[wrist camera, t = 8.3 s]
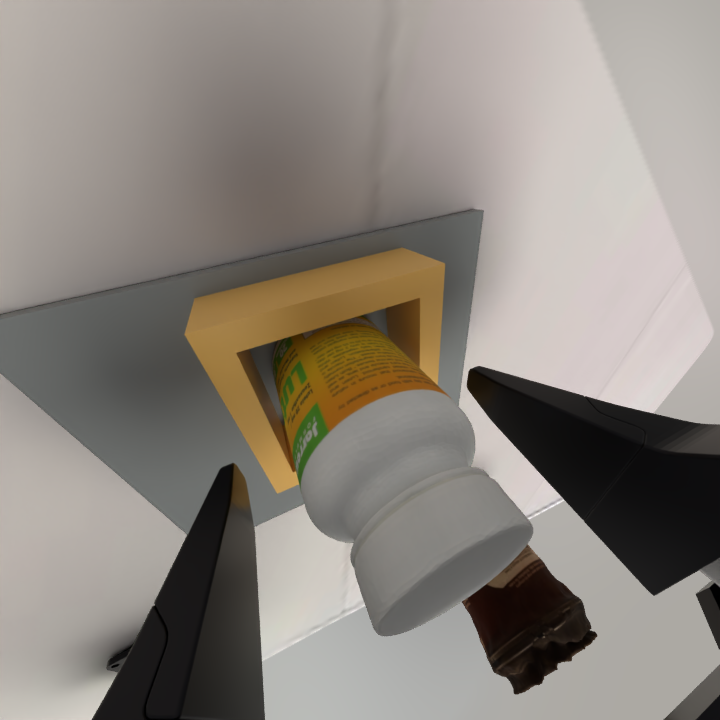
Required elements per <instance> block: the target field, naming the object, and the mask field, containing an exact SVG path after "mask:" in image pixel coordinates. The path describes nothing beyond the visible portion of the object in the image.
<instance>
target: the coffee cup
mask: <svg viewBox="0 0 720 720" xmlns="http://www.w3.org/2000/svg"><path fill="white" fill-rule="evenodd" d="M462 603H463V604H464V606H465V608H466V609H467V611H468V612H469V614H470V615H471V617H472V620H473V623H474V625H475V627H476V629H477V632H478V634H479V638H480V641H481V643H482V645H483V648H484V650H485V652H486V655H487V659H488V661H489V662H490V665H491V667H492V669H493V671H494V673H496V674H499V675H501V676H504V677H507V679H508V680H509V681H510V682H511V684H512V686H513V689H514V694H519V693H523V692H525V691H527V690H529V689H530V688H531V687H533V686H535V685H540V684H542V681H543V680H544V676H547V675H548V674H550V673H552V672H553V671H555V670H557V664H558V663H561V662H566V661H572V656H574V655H575V654H576V653H578V652H580V651H581V650H583V649H585V647H586V646H588V645H590V644H591V643H592V641H593V640H595V638H596V637H597V634H596V633H595V632H593V631H590V629H591V625H590V622H589V620H588V619H587V617H586V615H585V609H584V605H583V603H582V601H581V599H579V597H577V596H575V595H574V594H573V593H572V592H571V591H570V590H569V589H568V588H567V587H566V586H565V585H564V584H563V583H561V582H560V581H558V580H557V579H556V578H555V577H554V576H553V575H552V574H551V573H550V571H549V570H548V569H547V567H546V566H545V564H544V562H543V561H542V560H541V559H540V558H539V557H538V556H537V555H536V554H535V552H534V551H533V550H532V549H531V548H530V546H529V545H528V544H527V545H526V547H525V548H524V549H523V550H522V551H521V553H520V554H519V555H518V556H517V557H516V558H515V559H514V560H513V561H512V562H511V563H510V564H509V565H508V566H507V567H506V568H505V569H504V570H503V571H501V572H500V573H499V574H498V575H497V576H496V577H494V578H493V579H492V580H491V581H490V582H488V583H487V584H486V585H484V586H483V587H482V588H480V589H479V590H478V591H476V592H475V593H474V594H472V595H471V596H469V597H468V598H466V599H465V600H464V601H462Z"/></svg>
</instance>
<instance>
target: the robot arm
mask: <svg viewBox="0 0 720 720" xmlns="http://www.w3.org/2000/svg"><path fill="white" fill-rule="evenodd" d="M467 388H468V390H469V392H470V393H471V394H472V396H473V397H474V398H475V400H476V401H477V402H478V404H479V405H480V406H481V408H482V409H483V410H484V412H485V413H486V414H487V416H488V417H489V418H490V419H491V420H492V422H493V423H494V424H495V425H496V426H497V427H498V428H499V429H500V430H501V432H502V433H503V434H504V435H505V436H506V437H507V438H508V439H509V440H510V441H511V442H512V443H513V445H514V446H515V447H516V448H517V449H518V450H519V451H520V452H521V453H522V454H523V455H524V457H525V458H526V459H527V460H528V461H529V462H530V463H531V464H532V465H533V466H534V467H535V468H536V470H537V471H538V472H539V473H540V474H541V475H542V476H543V477H544V478H545V479H546V480H547V481H548V483H549V484H550V485H551V486H552V487H553V488H554V489H555V490H556V491H557V492H558V493H559V495H560V496H561V497H562V498H563V499H564V500H565V501H566V502H567V503H568V504H569V505H570V506H571V507H572V508H573V510H574V511H575V512H576V513H577V514H578V515H579V516H580V517H581V518H582V519H583V520H584V522H585V523H586V524H587V525H588V526H589V527H590V528H591V529H592V531H593V532H594V533H595V534H596V535H597V536H598V537H599V538H600V539H601V540H602V541H603V542H604V543H605V545H606V546H607V547H608V548H609V549H610V550H611V551H612V552H613V553H614V554H615V555H616V557H617V558H618V559H619V560H620V561H621V562H622V563H623V564H624V565H625V566H626V567H627V568H628V570H629V571H630V572H631V573H632V574H633V575H634V576H635V577H636V578H637V579H638V580H639V582H640V583H641V584H642V585H643V586H644V587H645V588H646V589H647V590H648V591H649V592H650V593H651V594H652V595H654V596H655V595H657V594H658V593H660V592H662V591H664V590H665V589H667V588H669V587H671V586H672V585H674V584H676V583H678V582H679V581H681V580H683V579H684V578H686V577H688V576H690V575H691V574H693V573H695V572H697V571H698V570H700V571H701V572H702V573H703V574H704V575H706V576H707V577H708V578H709V579H711V580H712V581H711V582H709V583H708V584H707V585H706V586H705V587H704V588H702V589H701V590H700V591H699V592H698V593H696V596H697V598H698V601H699V603H700V605H701V608H702V610H703V612H704V614H705V617H706V619H707V622H708V624H709V627H710V629H711V631H712V634H713V636H714V638H715V641H716V643H717V645H718V648H719V649H720V425H716V424H715V425H714V424H700V423H693V422H688V421H683V420H679V419H674V418H670V417H666V416H661V415H657V414H653V413H649V412H644V411H640V410H636V409H632V408H627V407H623V406H619V405H615V404H612V403H608V402H604V401H601V400H597V399H593V398H590V397H587V396H585V397H584V396H583V395H579V394H576V393H572V392H569V391H565V390H562V389H558V388H555V387H551V386H548V385H544V384H541V383H537V382H534V381H530V380H527V379H524V378H520V377H517V376H513V375H510V374H506V373H503V372H499V371H496V370H492V369H489V368H485V367H482V366H477V367H474V368H472V369H470V370H469V373H468V380H467ZM154 604H155V606H153V607H152V608H151V610H150V612H149V614H148V616H147V618H146V620H145V622H144V624H143V626H142V628H141V630H140V632H139V634H138V636H137V638H136V640H135V642H134V644H133V646H132V648H130V649H128V650H126V651H124V652H122V653H120V654H118V655H116V656H115V657H113V658H111V659H110V660H109V661H108V664H107V670H111V671H115V672H118V674H117V676H116V677H115V679H114V681H113V683H112V685H111V686H110V688H109V690H108V692H107V694H106V696H105V697H104V699H103V701H102V703H101V704H100V706H99V708H98V710H97V711H96V713H95V715H94V717H93V718H92V720H265V713H264V693H263V676H262V656H261V637H260V619H259V600H258V582H257V563H256V544H255V530H254V523H253V517H252V512H251V506H250V500H249V494H248V489H247V483H246V480H245V477H244V475H243V474H242V472H241V471H240V469H239V468H238V466H237V465H236V464H235V463H231V464H228V465H226V466H223V467H221V468H220V470H219V471H218V473H217V476H216V478H215V480H214V482H213V484H212V486H211V488H210V490H209V492H208V494H207V496H206V498H205V500H204V502H203V504H202V506H201V508H200V510H199V512H198V514H197V516H196V518H195V520H194V522H193V524H192V527H191V529H190V531H189V533H188V535H187V537H186V539H185V541H184V543H183V545H182V547H181V549H180V551H179V553H178V555H177V557H176V559H175V561H174V563H173V565H172V567H171V569H170V571H169V573H168V575H167V577H166V580H165V582H164V584H163V586H162V588H161V590H160V592H159V594H158V596H157V598H156V600H155V602H154ZM664 720H720V665H719V666H718V667H717V668H716V669H715V670H714V671H713V672H712V673H711V674H710V675H709V676H708V677H707V678H706V679H705V680H704V681H703V682H702V683H700V685H699V686H697V687H696V688H695V689H694V690H693V691H692V693H690V694H689V695H688V696H687V697H686V698H685V699H684V700H683V701H682V702H681V703H680V704H679V705H678V706H677V707H676V708H675V709H674V710H673V711H672V712H671V713H670V714H669V715H668V716H667V717H666V718H665V719H664Z"/></svg>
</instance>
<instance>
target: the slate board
mask: <svg viewBox="0 0 720 720" xmlns="http://www.w3.org/2000/svg"><path fill="white" fill-rule="evenodd" d="M483 212H484V210H475V209H474V210H469V211H465V212H460V213H456V214H451V215H447V216H442V217H438V218H433V219H429V220H424V221H420V222H415V223H411V224H406V225H402V226H397V227H393V228H388V229H384V230H379V231H375V232H370V233H366V234H361V235H357V236H352V237H348V238H343V239H339V240H334V241H330V242H325V243H321V244H316V245H312V246H307V247H303V248H298V249H294V250H289V251H285V252H280V253H276V254H271V255H267V256H262V257H258V258H253V259H249V260H244V261H240V262H235V263H230V264H226V265H221V266H217V267H212V268H208V269H203V270H199V271H194V272H190V273H185V274H181V275H176V276H172V277H167V278H163V279H158V280H154V281H149V282H145V283H140V284H136V285H131V286H127V287H122V288H118V289H113V290H109V291H104V292H100V293H95V294H91V295H86V296H82V297H77V298H73V299H68V300H64V301H59V302H55V303H50V304H46V305H41V306H37V307H32V308H28V309H23V310H19V311H14V312H10V313H5V314H1V315H0V373H1V374H2V375H3V376H4V377H5V378H7V379H8V380H9V381H10V382H11V383H12V384H14V385H15V386H16V387H17V388H18V389H19V390H21V391H22V392H23V393H24V394H25V395H26V396H27V397H29V398H30V399H31V400H32V401H33V402H34V403H36V404H37V405H38V406H39V407H40V408H41V409H43V410H44V411H45V412H46V413H47V414H48V415H49V416H51V417H52V418H53V419H54V420H55V421H56V422H58V423H59V424H60V425H61V426H62V427H63V428H65V429H66V430H67V431H68V432H69V433H70V434H71V435H73V436H74V437H75V438H76V439H77V440H78V441H80V442H81V443H82V444H83V445H84V446H85V447H86V448H88V449H89V450H90V451H91V452H92V453H93V454H95V455H96V456H97V457H98V458H99V459H100V460H102V461H103V462H104V463H105V464H106V465H107V466H108V467H110V468H111V469H112V470H113V471H114V472H115V473H117V474H118V475H119V476H120V477H121V478H122V479H124V480H125V481H126V482H127V483H128V484H129V485H130V486H132V487H133V488H134V489H135V490H136V491H137V492H139V493H140V494H141V495H142V496H143V497H144V498H145V499H147V500H148V501H149V502H150V503H151V504H152V505H154V506H155V507H156V508H157V509H158V510H159V511H161V512H162V513H163V514H164V515H165V516H166V517H167V518H169V519H170V520H171V521H172V522H173V523H174V524H176V525H177V526H178V527H179V528H180V529H181V530H183V531H184V532H185V533H186V534H187V535H188V533H189V531H190V529H191V527H192V524H193V522H194V520H195V518H196V516H197V514H198V512H199V510H200V508H201V506H202V504H203V502H204V500H205V498H206V496H207V494H208V492H209V490H210V488H211V486H212V484H213V482H214V480H215V478H216V476H217V473H218V471H219V470H220V468H221V467H223V466H226V465H228V464H231V463H235V464H236V465H237V466H238V468H239V469H240V471H241V472H242V474H243V475H244V477H245V480H246V483H247V489H248V494H249V500H250V506H251V512H252V517H253V523H254V527H255V526H257V525H259V524H261V523H263V522H266V521H268V520H270V519H272V518H274V517H277V516H279V515H281V514H283V513H285V512H287V511H290V510H292V509H294V508H296V507H298V506H301V505H303V504H305V503H304V500H303V497H302V494H301V490H300V486H299V485H296V486H294V487H292V488H289V489H287V490H285V491H283V492H280V493H278V494H277V492H276V491H275V489H274V487H273V486H272V484H271V482H270V480H269V479H268V477H267V475H266V474H265V472H264V470H263V468H262V467H261V465H260V463H259V462H258V460H257V458H256V456H255V455H254V453H253V451H252V450H251V448H250V446H249V444H248V443H247V441H246V439H245V438H244V436H243V434H242V432H241V431H240V429H239V427H238V426H237V424H236V422H235V420H234V419H233V417H232V415H231V414H230V412H229V410H228V408H227V407H226V405H225V403H224V402H223V400H222V398H221V396H220V395H219V393H218V391H217V390H216V388H215V386H214V384H213V383H212V381H211V379H210V378H209V376H208V374H207V372H206V371H205V369H204V367H203V365H202V364H201V362H200V360H199V359H198V357H197V355H196V353H195V352H194V350H193V348H192V347H191V345H190V343H189V341H188V340H187V338H186V336H185V335H184V334H185V330H186V327H187V323H188V320H189V316H190V313H191V309H192V306H193V302H194V299H195V298H198V297H202V296H206V295H210V294H214V293H218V292H222V291H226V290H230V289H235V288H239V287H243V286H247V285H251V284H255V283H259V282H263V281H267V280H271V279H275V278H280V277H284V276H288V275H292V274H296V273H300V272H304V271H308V270H312V269H316V268H320V267H325V266H329V265H333V264H337V263H341V262H345V261H349V260H353V259H357V258H361V257H366V256H370V255H374V254H378V253H382V252H386V251H390V250H394V249H398V248H405V249H408V250H411V251H413V252H416V253H419V254H421V255H424V256H427V257H429V258H432V259H435V260H437V261H440V262H443V263H445V275H444V292H443V308H442V324H441V340H440V357H439V373H438V386H439V387H440V388H441V389H442V390H443V391H444V392H445V393H447V395H448V396H449V397H450V398H451V399H452V400H453V401H454V402H455V403H456V404H457V405H458V406H459V398H460V390H461V383H462V375H463V367H464V359H465V351H466V344H467V336H468V328H469V320H470V313H471V305H472V297H473V289H474V281H475V274H476V266H477V258H478V250H479V243H480V235H481V227H482V219H483ZM364 316H366V317H367V318H368V319H369V320H370V321H371V322H373V323H374V324H375V325H376V326H377V327H378V328H379V329H380V330H381V331H382V332H383V333H384V334H385V335H386V336H387V337H388V331H387V318H386V308H384V309H381V310H377V311H374V312H371V313H367V314H364ZM277 342H278V340H277V341H274V342H271V343H267V344H264V345H261V346H257V347H254V348H251V349H249V351H250V353H251V355H252V358H253V360H254V362H255V364H256V367H257V369H258V371H259V374H260V376H261V378H262V380H263V383H264V385H265V387H266V390H267V392H268V394H269V396H270V399H271V401H272V403H273V406H274V408H275V410H276V412H277V415H278V417H279V419H280V422H281V424H282V426H283V425H285V424H284V418H283V414H282V410H281V406H280V402H279V397H278V393H277V389H276V385H275V380H274V375H273V368H272V360H273V354H274V350H275V347H276V345H277Z"/></svg>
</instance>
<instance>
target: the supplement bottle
mask: <svg viewBox="0 0 720 720" xmlns="http://www.w3.org/2000/svg"><path fill="white" fill-rule="evenodd" d="M272 368H273V375H274V380H275V385H276V389H277V393H278V397H279V402H280V406H281V410H282V414H283V418H284V424H285V428H286V432H287V436H288V440H289V444H290V448H291V452H292V456H293V460H294V465H295V469H296V473H297V477H298V481H299V486H300V490H301V494H302V497H303V500H304V503H305V507H306V510H307V513H308V515H309V517H310V519H311V521H312V522H313V523H314V525H315V526H316V527H317V528H318V529H319V530H320V531H321V532H322V533H324V534H325V535H327V536H328V537H330V538H333V539H335V540H338V541H341V542H345V543H354V544H353V546H352V550H351V563H352V565H353V567H354V569H355V575H356V578H357V581H358V584H359V587H360V591H361V594H362V597H363V600H364V602H365V605H366V608H367V611H368V614H369V617H370V620H371V622H372V625H373V628H374V630H375V631H376V632H377V634H378V635H381V636H392V635H397V634H401V633H404V632H407V631H409V630H412V629H414V628H416V627H418V626H421V625H422V624H425V623H426V622H428V621H430V620H432V619H434V618H436V617H438V616H440V615H441V614H443V613H445V612H446V611H448V610H450V609H451V608H453V607H454V606H456V605H457V604H459V603H460V602H462V601H464V600H465V599H466V598H468V597H469V596H471V595H472V594H474V593H475V592H476V591H478V590H479V589H480V588H482V587H483V586H484V585H486V584H487V583H488V582H490V581H491V580H492V579H493V578H494V577H496V576H497V575H498V574H499V573H500V572H501V571H503V570H504V569H505V568H506V567H507V566H508V565H509V564H510V563H511V562H512V561H513V560H514V559H515V558H516V557H517V556H518V555H519V554H520V553H521V551H522V550H523V549H524V548H525V547H526V545H527V544H528V542H529V541H530V539H531V537H532V534H533V527H532V525H531V523H530V521H529V520H528V519H527V517H526V516H525V515H524V514H523V513H522V512H521V510H520V509H519V508H518V507H517V506H516V505H515V503H514V502H513V501H512V500H511V499H510V498H509V497H508V495H507V494H506V493H505V492H504V490H503V489H502V488H501V487H500V485H499V484H498V483H497V482H496V481H495V480H494V479H492V478H490V477H489V475H488V474H487V473H486V472H485V471H484V470H482V469H479V468H475V467H471V464H472V462H473V458H474V453H475V435H474V431H473V428H472V425H471V423H470V421H469V419H468V417H467V416H466V415H465V413H464V412H463V411H462V410H461V409H460V408H459V407H458V405H457V404H456V403H455V402H454V401H453V400H452V399H451V398H450V397H449V396H448V395H447V393H445V392H444V391H443V390H442V389H441V388H440V387H439V386H438V385H437V384H436V383H435V382H434V381H433V380H432V379H431V378H430V377H429V376H427V375H426V374H425V373H424V372H423V371H422V370H421V369H420V368H419V367H418V366H417V365H416V364H415V363H414V362H413V361H412V360H411V359H410V358H409V357H408V356H407V355H406V354H405V353H404V352H402V351H401V350H400V349H399V348H398V347H397V346H396V345H395V344H394V343H393V342H392V341H391V340H390V339H389V338H388V337H387V336H386V335H385V334H384V333H383V332H382V331H381V330H380V329H379V328H378V327H377V326H376V325H375V324H374V323H373V322H371V321H370V320H369V319H368V318H367V317H366V316H364V315H361V316H357V317H354V318H351V319H347V320H344V321H341V322H337V323H334V324H331V325H327V326H324V327H321V328H317V329H314V330H311V331H307V332H304V333H301V334H297V335H294V336H291V337H287V338H284V339H281V340H278V342H277V345H276V347H275V350H274V354H273V360H272Z"/></svg>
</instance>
